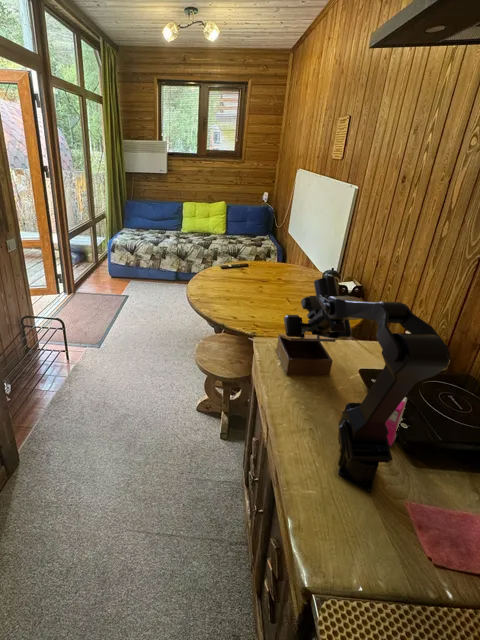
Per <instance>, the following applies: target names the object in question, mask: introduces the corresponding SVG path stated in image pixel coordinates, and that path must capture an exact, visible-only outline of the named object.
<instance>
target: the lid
mask: <svg viewBox="0 0 480 640" xmlns="http://www.w3.org/2000/svg"><path fill="white" fill-rule="evenodd" d="M305 329H306V328H305ZM309 329H310V328H309ZM278 336H280V337H283V338H285V339H288V340H290V341H320V342H321V343H323V342H326V343H335V342H336V338H327V337H323V336H319V335H312V334H305V333H304V336H305V337H288V336H287V335H286V333H278Z"/></svg>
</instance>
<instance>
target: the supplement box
mask: <svg viewBox="0 0 480 640" xmlns="http://www.w3.org/2000/svg"><path fill="white" fill-rule="evenodd" d="M407 401H408V397H406V396H405V398H404V399H403V400H402V402H401V403H400V404H399V406H398V407H397V408H396V409H395V411H394V412H393V413H392V415H391V416H390V417H389V419H388V420H387V421H386V423H385V424H386V427H387V429H388V432H389V433H388V435H387V438H388V443H389V447H390V448H392V446H393V444H394V442H395V441H396V438H397V436H398V434H397V435H396V431H397V429H398V427H399V428H400V426H399V424H400V425H401V421H402V420H403V419H402V418H403V415H404V412H405V409H406V404H407ZM398 430H399V429H398Z"/></svg>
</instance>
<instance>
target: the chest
mask: <svg viewBox="0 0 480 640" xmlns="http://www.w3.org/2000/svg"><path fill="white" fill-rule="evenodd" d="M276 352H277V355H278V357H279V359H280V363H281V364H282V368H283V370H284V372H285V374H286V375H288V376H322V377H323V376H327V377H328V376H330V375H331V371H332V367H333V366H332V365H333V361H334V360H333V359H332V357H331V356H330V354H329V353H328V351H327V349H326V348H325V346H324V345H323V342H320V341H290V340H288V339H285V338H283V337H280V336H279V335H278V337H277V343H276Z"/></svg>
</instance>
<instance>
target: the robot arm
mask: <svg viewBox="0 0 480 640" xmlns="http://www.w3.org/2000/svg"><path fill="white" fill-rule="evenodd" d="M313 286H314V293H315V295H308V296H305V297H304V298H302V299H301V301H300V304H301V308H302V309H303V310H306V311H307V312H308V313H307V315H306V317H307V319H308V320H307V323H306V322H304V321H303V317H300V315H299V314H286V315H285V316H284V317H283V323H284V330H285V334H286V335H287V336H288V337H305V336H304V334H305V333H311V335H319V336H323V337H327V338H332V339H349V338H351V337H352V334H353V332H352V326H351V322H350V321H357V320H367V321H374V322H375V323H376V324H377V330H376V341H377V342H378V343H379V346H380V348H381V349H382V350H381V355H382V358H383V361H384V367H382V370H381V371H380V373H379V375H378V376H377V378H376V380H374V383H373V384H372V385H371V387H370V389H369V390H368V392H367V394H366V396H365V397H364V399H363V400H362V401H361V402H347V403H346V404H345V406H344V409H343V410H341V412H340V413H341V416H340V419H339V421H338V433H337V434H338V435H337V436H338V437H337V438H338V445H339V450H338V451H339V454H340V455H339V459H338V464H337V465H338V467H339V469H338V473H337V474H338V476H339V477H341V478H342V479H344V480H346V481H347V482H349V483H350V484H352V485H354V486H356V487H357V488H359V489H362V490H363V491H364V492H366V493H368V494H372V492H373V486H374V483H375V482H374V481H375V478H376V474H377V471H378V468H379V464H380V463H385V464H389V463H390V462H392V461H393V456H392V452H391V447H389V443H388V438H387V435H388V433H389V432H388V429H387V427H386V424H385V423H386V421H387V420H388V419H389V417H390V416H391V415H392V413H393V412H394V411H395V409H396V408H397V407H398V406H399V404H400V403H401V402H402V400H403V399H404V398H405V397H406V396H407V395H408V393H409V392H410V391H411V390H412V388H413V387H414V386H415V385H416V384H418V382H421V381H424V380H427V379H430V378H433V377H435V376H437V375H438V374H439V373H441V372H442V371H444V370H445V369H446V368H447V367H448V366H449V363H450V360H451V359H450V350H449V347H448V346H447V345H446V343H445V342H444V340H443V339H442V338H441V336H440V335H439V333H438V332H437V331H436V329H434V327H433V326H432V325H430V324H429V323H428V322H426V321H424V320H423V319H421V318H420V317H419V316H417V315H416V314H414V313H413V312H412V310H411V309H410V308H409V305H407V304H406V303H403V302H401V301H382V300H381V301H363V299H361V298H359V297H356V296H349V295H343V294H339V290H338V286H337V280H336V279H335V276H331V275H330V276H329V275H328V276H325V277H321V278H318V279H315V280H314V281H313ZM389 324H400V326H401V327H402V328H403V329H404V330H406V331H407V332H408V333H405V332H404V333H403V332H402V333H401V332H392V331H391V330H390V328H389V327H388V325H389ZM305 328H306V329H305ZM309 328H310V329H309Z"/></svg>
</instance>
